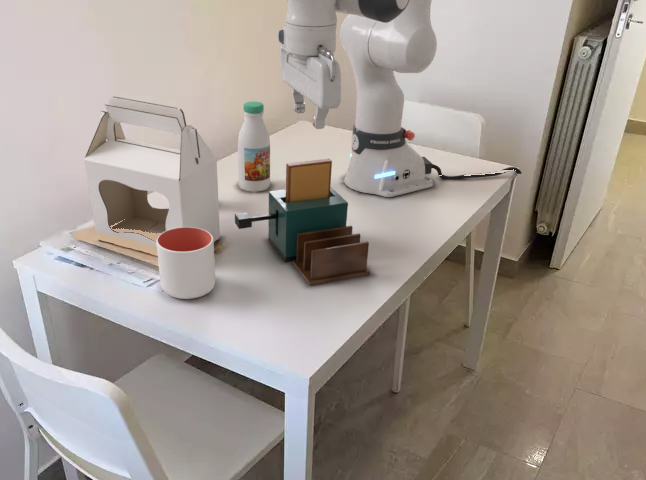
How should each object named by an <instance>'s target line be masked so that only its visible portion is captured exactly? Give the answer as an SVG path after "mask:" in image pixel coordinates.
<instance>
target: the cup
mask: <svg viewBox="0 0 646 480" xmlns="http://www.w3.org/2000/svg"><path fill="white" fill-rule="evenodd" d="M214 243H215V242H214V241H213V236H212V235H211V234H210V233H209V232H207V231H206V230H203V229H200V228H194V227H180V228H174V229H170V230H167V231H165V232H163V233H161V234H160V235H159V236H158V237H157V239H156V246H157V255H158V257H157V263H158V264H157V265H158V273H159V274H158V275H159V281H160V282H159V284H160V287H161V290H162V291H163V292H164V293H165V294H167V295H169V296H170V297H173V298H176V299H181V300H192V299H197V298H201V297H203V296H205V295H207V294H209V293H210V292H211V291H212V290H213V289H214V287H215V284H216V266H215V264H216V263H215V245H214Z"/></svg>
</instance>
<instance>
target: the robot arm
mask: <svg viewBox="0 0 646 480" xmlns="http://www.w3.org/2000/svg"><path fill="white" fill-rule="evenodd" d="M431 7H432V0H287V12H286V15H285V20H284V21H285V23H284V24H285V26H284V27H281V28H279V29H277V41H278V42H277V43H279V44H280V45H279V65H280V74H281V78H282V81H283V82H284V83H285V84H287V85H288V86H289V87H290V89H291V90H290V92H291V96H292V101H293V111H294V112H296V114H298V115H299V114H304V113H305V112H306V103H305V101H304V100H305V99H307V100H308V101H309V102H310V103H312V104H313V105H314V110H315V114H314V116H313V117H312V126H313V128H315V129H316V130H322V129H325V127H326V118H327V116H328V113H329V112H330V110H335V109H339V107H340V104H341V102H342V78H341V77H342V73H341V66H340V64H339V62H338V61H337V60H336V59H335V57H334V56H335V54H334V53H336V51H337V32H338V17H337V13H339V14H344V15H347V16H345V18H344V20H343V21H342V23H341V26H340V29H339V42H340V45H341V48H342V49H343V51H344V52H345V54H346V57H348V60H349V62H350V65H351V69H352V73H353V77H354V82H355V88H356V104H355V121H354V124H353V125H352V135H351V153H350V154H349V157H350V160H349V164H348V168H347V171H346V174H345V177H344V179H343V183H344V184H345V185H346V187H348V188H350V189H352V190H354V191H356V192H360V193H364V194H372V195H376V196H381V197H384V198H392V197H397V196H400V195H405V194H409V193H412V192H417V191H422V190H425V189H429V188H432V187H433V186H434V180H433V178H432V177H431V176H430V175H431V174H432V171H433V169H434V170H436V172H437V175H438V177H439V178H440V179H442V180H451V181H452V180H453V181H455V180H463V179H476V178H478V179H479V178H489V177H496V176H500V175H502V174H506V172H504V173H495V174H485V175H471V176H464V175H465V174H459V175H453V176H452V175H451V176H450V175H445V174H443V172H442V168H441V167H440V166H438V165H436V164H433V162H431V161H430V160H429V159H428V158H427V157H426V156H421V155H420V153H418V152H417V151H416V150H415V149H414V148H413V147H412V146H411V145H409V144H408V143H407V141H406V139H407V140H408V141H409V142H411V141H413V140H414V139H415V137H416V134H415V133H414V131H411V130H410V129H408V130H407V129H406V128H404V127H402V123H403V114H404V105H405V94H404V91H403V89H402V88H401V86H400V85H399V84H398V82H397V79H396V75H395V73H399V74H420V73H422V72H424V71H425V70H426V69H427V68H429V67H430V66H431V64H432V62H433V61H434V59H435V56H436V54H437V47H438V41H437V40H438V39H437V35H436V33H435V31H434V29H433V25H432V21H431ZM304 98H305V99H304ZM513 169H514V171H513V172H515V173H516V174H517V175H521V174H522V171H521V170H520V169H519V168H518V167H516V166H509V167H506V168H503V169H502V170H513ZM515 170H516V171H515ZM442 174H443V175H442ZM439 175H442V176H439Z"/></svg>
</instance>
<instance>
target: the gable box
mask: <svg viewBox="0 0 646 480" xmlns="http://www.w3.org/2000/svg"><path fill="white" fill-rule="evenodd" d="M104 106H105V109H106V110H107V111H105V110H100V111H99V114H100V115H99V116H100V120H99V123H98V125H97V128H96V130H95V133H94V135H93V138H92V140H91V142H90V145H89V146H88V150H87V152H86V154H85V157H84V159H83V161H84V169H85V173H86V179H87V185H88V191H89V192H88V193H89V199H90V204H91V211H92V218H93V223H94V230H95V233H96V232H98V233H102V234H108V235H112V236H116V237H121V238H125V239H129V240H133V241H136V242H140V243H143V244H147V245H151V246H155V247H157V246H156V241H154V240H152V239H150V238H148V237H146V236H144V235H142V234H139V233H134V232H124V233H119V232H116V231H114V230H112V229H116V228H117V229H118V228H119V229H121V228H122V229H123V228H124V229H129V230H130V229H132V230H134V229H135V230H141V231H143V232H145V231H146V232H149V233H151V232H152V233H156V234H157V233H163V232H165V231H167V230H170V229H174V228H180V227H194V228H200V229H203V230H206V231H207V232H209V233H210V234H211V235H212V236H213V241H214V243H215V242H217V240H220V237H221V230H220V229H221V228H220V227H221V226H220V207H219V206H220V205H219V204H220V203H219V186H218V185H219V184H218V181H219V180H218V161H217V159H218V158H217V157H216V155H215V154H214V152H213V151H212V150H211V149H210V147H209V146H208V145H207V143H206V142H205V140H204V139H203V138H202V136H201V135H200V133H199V132H198V130H197V128H195V127H194V126H193V125H192V124H187V121H186V117H185V113H184V111H183V109H182V108H179V107H176V106H175V107H174V106H170V105H163V104H157V103H153V102H146V101H142V100H135V99H132V98H131V99H130V98H125V97H120V96H119V97H118V96H111V97H110V98H109V99H108V104H106V103H105V104H104ZM121 124H126V125H131V126H135V127H137V126H138V127H141V128H142V127H143V128H148V129H152V130H157V131H162V132H168V133H173V134H175V135H180V149H177V148H173V147H168V146H162V145H158V144H152V143H147V142H142V141H138V140H132V139H128V138H126V136H125V133H124V131H123V127H122V125H121ZM148 192H154V193H157V194H160V195H161V196H164V197H165V198H166V199H167V201H168V203H169V205H168V207H169V208H157V207H154V206H152V205H151V204H150V203H149V200H148ZM124 219H125V220H124ZM122 220H123V221H122ZM120 221H122V222H120ZM118 222H120V223H118ZM115 223H118V224H117V225H115V226H113V227H112V229H111V227H110V226H111V225H114V224H115Z"/></svg>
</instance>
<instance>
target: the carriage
mask: <svg viewBox="0 0 646 480" xmlns="http://www.w3.org/2000/svg"><path fill="white" fill-rule="evenodd" d="M276 218H278V213H276V214H269V213H268V214H263V215H261V214H260V215H255V216H251V215H250V214H249V212H247V211H246V212H239V213H234V224H235V225H236V227H237V228H238V230H242V229H249V228H252V227H253V222H261V221H269V219H276Z"/></svg>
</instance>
